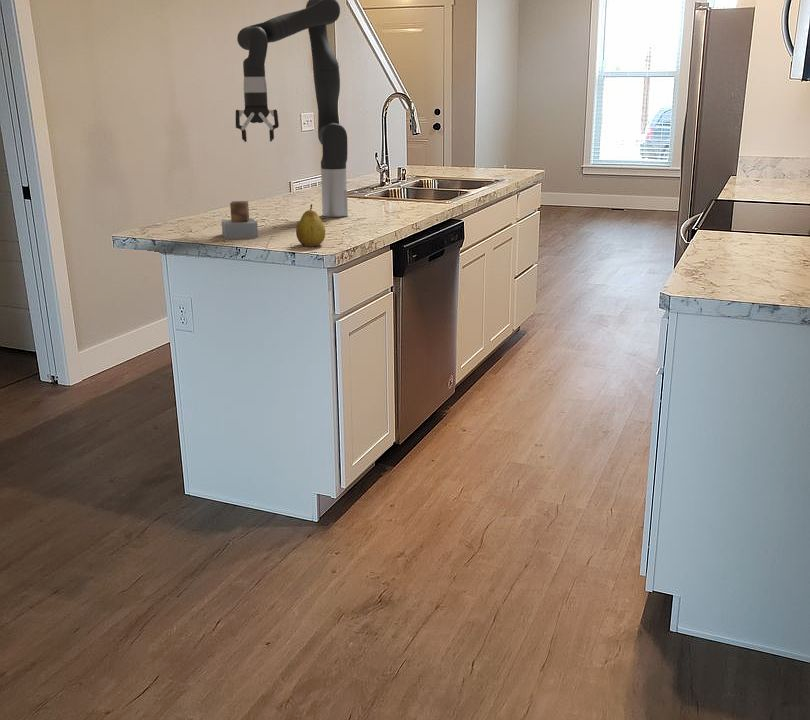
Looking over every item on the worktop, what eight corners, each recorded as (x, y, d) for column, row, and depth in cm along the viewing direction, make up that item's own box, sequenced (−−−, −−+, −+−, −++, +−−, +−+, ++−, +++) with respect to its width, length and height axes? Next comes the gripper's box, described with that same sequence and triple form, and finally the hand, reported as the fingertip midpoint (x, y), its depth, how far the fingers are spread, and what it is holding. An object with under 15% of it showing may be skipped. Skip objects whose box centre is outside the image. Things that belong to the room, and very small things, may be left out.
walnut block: (249, 219, 272) (248, 201, 270) (247, 222, 267) (246, 203, 265) (233, 220, 272) (232, 201, 270) (231, 222, 267) (230, 203, 265)
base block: (253, 233, 276) (252, 218, 275) (258, 238, 267) (257, 222, 266) (222, 235, 273) (221, 219, 272) (226, 240, 264) (225, 224, 263)
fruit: (310, 249, 248) (309, 208, 244) (290, 245, 254) (288, 205, 250) (332, 245, 254) (330, 205, 250) (311, 241, 260) (310, 202, 256)
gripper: (277, 91, 283) (279, 140, 288) (234, 91, 281) (237, 141, 286) (276, 91, 276) (279, 142, 281) (232, 91, 274) (236, 142, 279)
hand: (258, 141), depth 284 cm, fingers open, 8 cm apart
